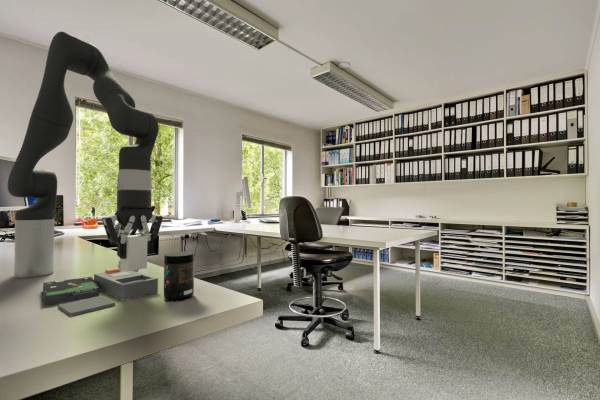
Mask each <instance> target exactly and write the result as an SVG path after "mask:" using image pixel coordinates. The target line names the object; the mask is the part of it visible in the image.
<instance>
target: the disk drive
mask: <svg viewBox="0 0 600 400" xmlns="http://www.w3.org/2000/svg"><path fill="white" fill-rule="evenodd" d="M42 285H43V286H42V294H43V303H42V304H43V306H44V307H47V306H51V305H57V304H58V305H60V304H65V303H70V302H74V301H79V300H84V299H88V298H93V297H97V296H100V290H99V288H98V285H97V284H96V282H95V281H94V277H92V276H88V277H81V278H80V277H79V278H71V279H64V280H63V281H48V282H47V281H46V282H43V283H42Z"/></svg>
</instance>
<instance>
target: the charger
mask: <svg viewBox="0 0 600 400" xmlns="http://www.w3.org/2000/svg"><path fill="white" fill-rule="evenodd" d="M125 244H127V253H126V259H120V258H119V261H120V269H123V270H126V271H132V270H138V269H139V270H143V269H147V268H148V254H147V236H143V235H140V234H136V235H135V234H133V235H128V237H127V240H126V242H125Z"/></svg>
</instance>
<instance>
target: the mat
mask: <svg viewBox="0 0 600 400" xmlns="http://www.w3.org/2000/svg"><path fill="white" fill-rule="evenodd" d="M114 306H116V302H115V301H113V300H111V299H109V298H106V297H104V296H102V295H99V296H97V297H93V298H88V299H83V300H77V301H71V302H65V303H59V304H58V307H57V308H58V309H59V310H61V311H62V312H64V313H65V314H66V315H68V316H70V317H73V316H77V315H83V314H86V313H90V312H95V311H98V310H102V309H105V308H106V309H107V308H110V307H114Z"/></svg>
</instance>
